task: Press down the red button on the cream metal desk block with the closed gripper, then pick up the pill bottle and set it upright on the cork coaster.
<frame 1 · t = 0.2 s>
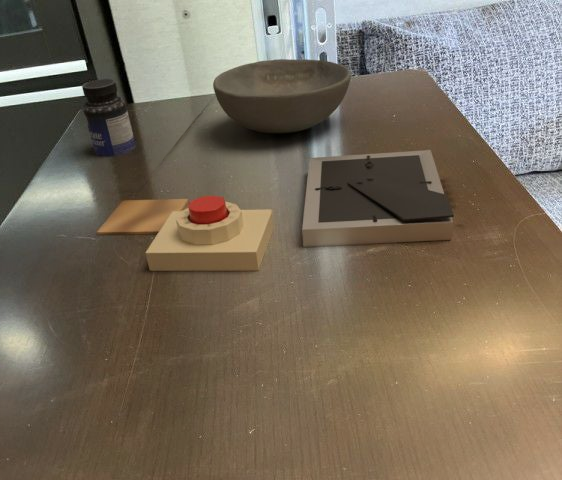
coaster: (144, 217, 78), on the table
picture frame: (372, 204, 75), on the table
pill bottle: (118, 161, 95), on the table
button: (207, 210, 67), point 4 cm above the table, slide at 0.1 cm
bowl: (285, 128, 100), on the table
desk block: (214, 248, 70), on the table
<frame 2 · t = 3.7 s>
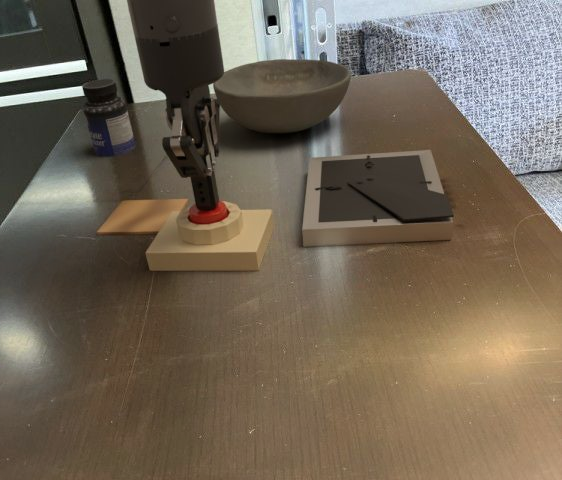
hand: (208, 207, 67), 5 cm above the table, tool pointing down, fingers closed
button: (208, 215, 67), point 4 cm above the table, slide at -0.4 cm, touching gripper
everything else where it was.
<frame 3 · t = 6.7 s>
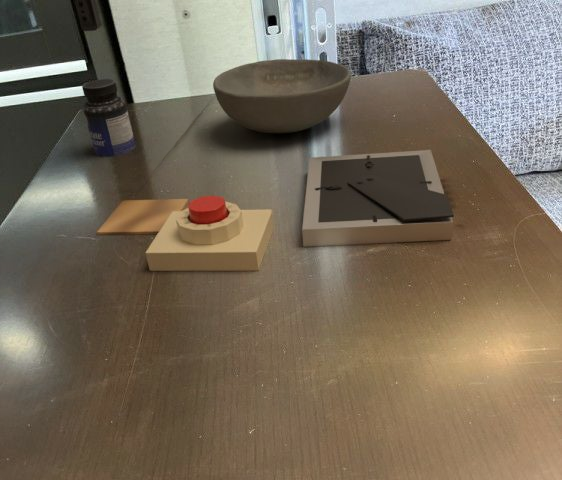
hand: (92, 29, 80), 18 cm above the table, tool pointing down, fingers closed
button: (207, 210, 67), point 4 cm above the table, slide at 0.1 cm
everything else where it was.
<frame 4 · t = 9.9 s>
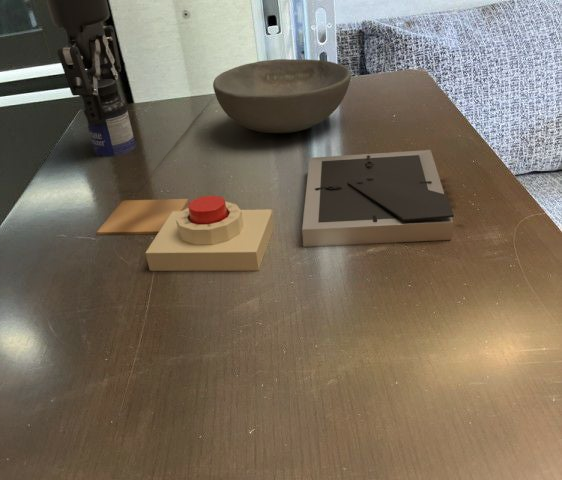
hand: (106, 115, 90), 7 cm above the table, tool pointing down, fingers closed on pill bottle, 6 cm apart
pill bottle: (118, 161, 95), on the table, touching gripper
everything else where it was.
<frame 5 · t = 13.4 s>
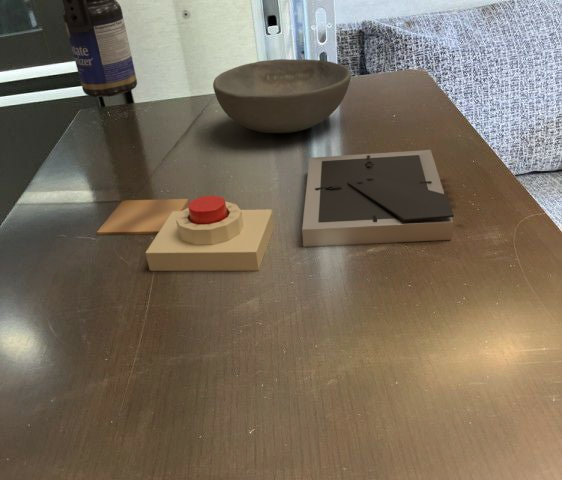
hand: (94, 24, 66), 21 cm above the table, tool pointing down, fingers closed on pill bottle, 6 cm apart
pill bottle: (112, 92, 71), point 14 cm above the table, touching gripper
everything else where it was.
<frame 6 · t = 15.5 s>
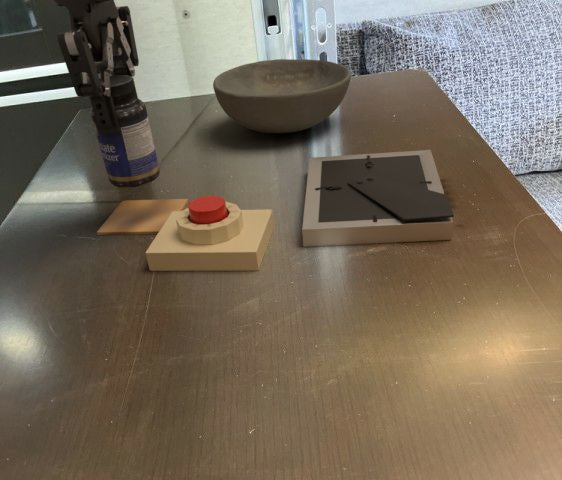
hand: (120, 121, 70), 12 cm above the table, tool pointing down, fingers closed on pill bottle, 6 cm apart
pill bottle: (135, 180, 75), point 5 cm above the table, touching gripper
everything else where it was.
when the fingers open (7 cm above the table, at t = 17.2 s): pill bottle stays where it is, resting on coaster.
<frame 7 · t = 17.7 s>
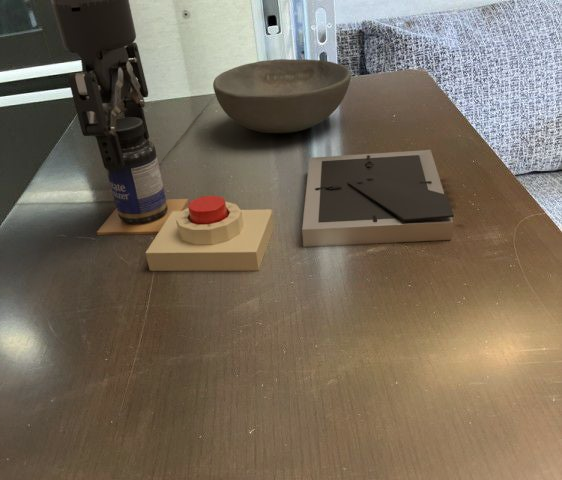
hand: (128, 154, 73), 8 cm above the table, tool pointing down, fingers open, 8 cm apart
pill bottle: (144, 215, 78), resting on coaster
everything else where it was.
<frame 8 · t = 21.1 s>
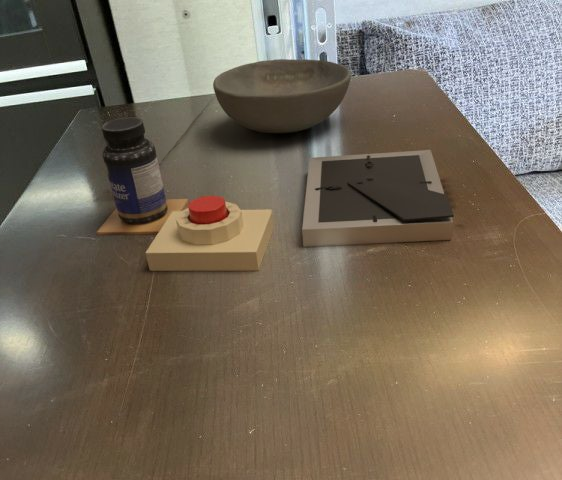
nothing on the table moved.
at the end: button pushed in 1.1 cm at the most during the clip, back to where it started at the end; pill bottle 0.1 cm off-centre on the coaster, point 0.2 cm above the coaster's base; pill bottle tilted 0° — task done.
